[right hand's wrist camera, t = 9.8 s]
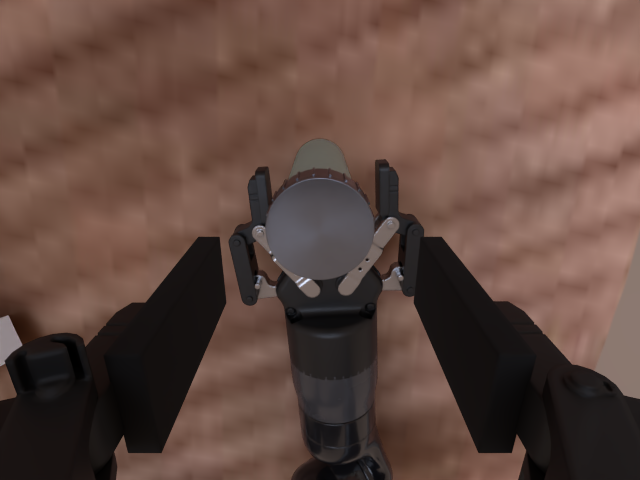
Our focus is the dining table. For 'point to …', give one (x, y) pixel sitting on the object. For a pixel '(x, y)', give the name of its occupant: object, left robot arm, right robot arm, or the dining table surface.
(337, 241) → the lid
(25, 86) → the dining table surface
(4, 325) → the pile of blocks
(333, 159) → the grey-green rounded cylinder
